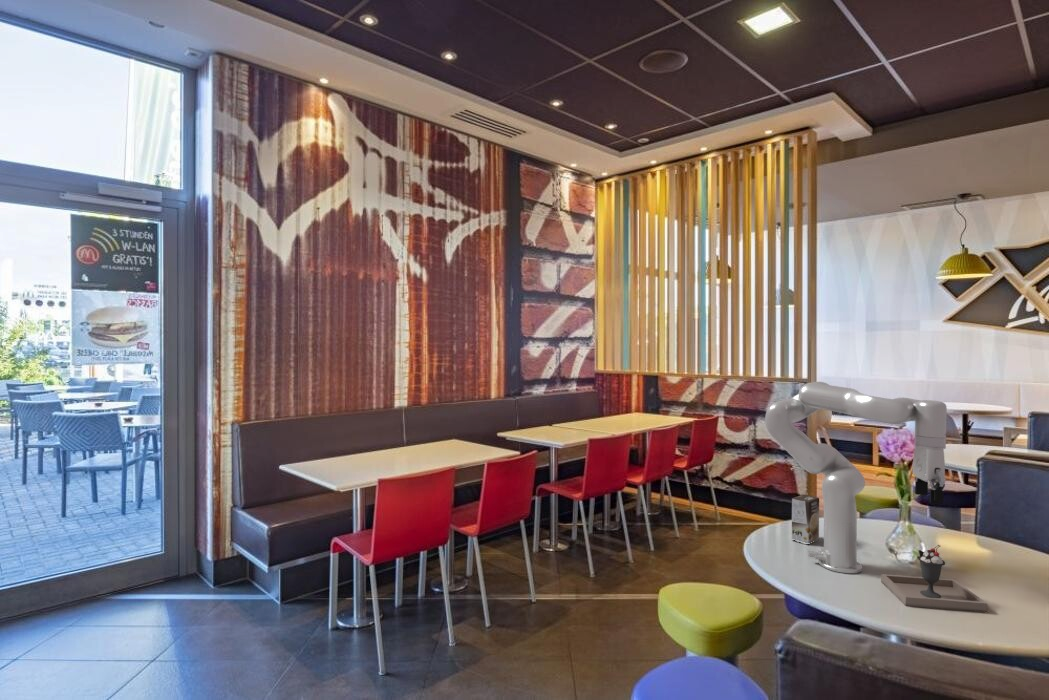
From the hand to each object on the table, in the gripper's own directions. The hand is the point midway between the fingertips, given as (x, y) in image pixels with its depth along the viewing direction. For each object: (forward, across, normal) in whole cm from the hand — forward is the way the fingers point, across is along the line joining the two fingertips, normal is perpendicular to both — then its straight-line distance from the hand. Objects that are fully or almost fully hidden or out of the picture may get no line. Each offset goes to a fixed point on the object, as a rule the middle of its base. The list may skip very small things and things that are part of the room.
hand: (928, 498), depth 166 cm
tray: (+27, +5, -1) cm, 28 cm away
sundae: (+27, +6, -1) cm, 27 cm away
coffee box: (+28, -36, -25) cm, 52 cm away
